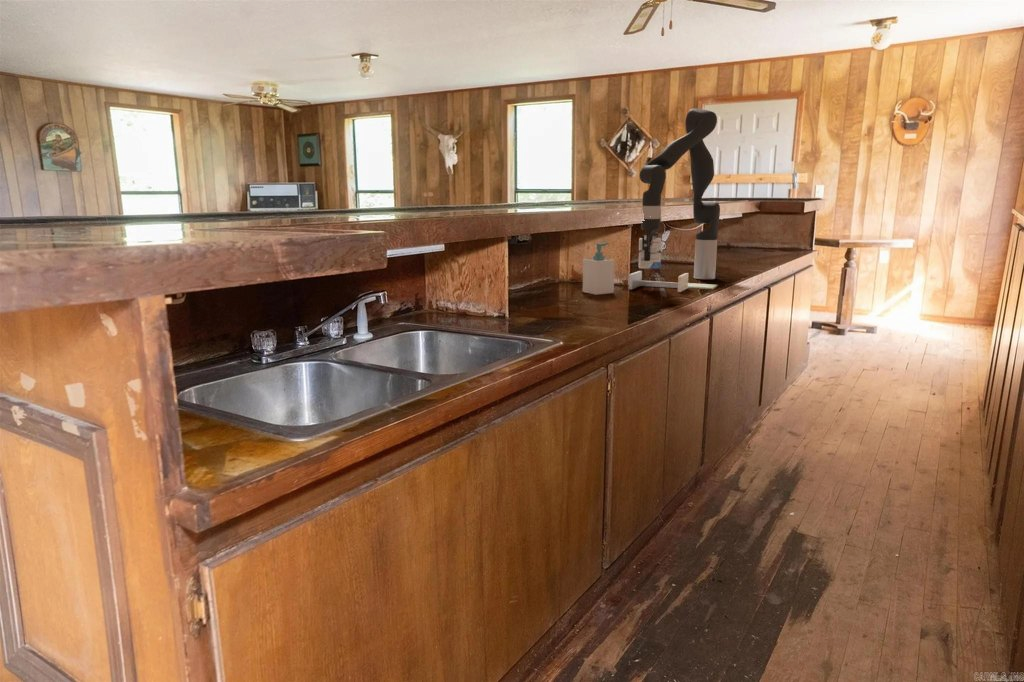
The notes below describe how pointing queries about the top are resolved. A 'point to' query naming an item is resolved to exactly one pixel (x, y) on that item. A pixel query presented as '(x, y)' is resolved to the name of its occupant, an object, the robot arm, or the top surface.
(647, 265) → the ink box
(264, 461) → the top surface
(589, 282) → the soap bottle
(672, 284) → the clamp base
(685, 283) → the tie jaw
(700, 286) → the mat
